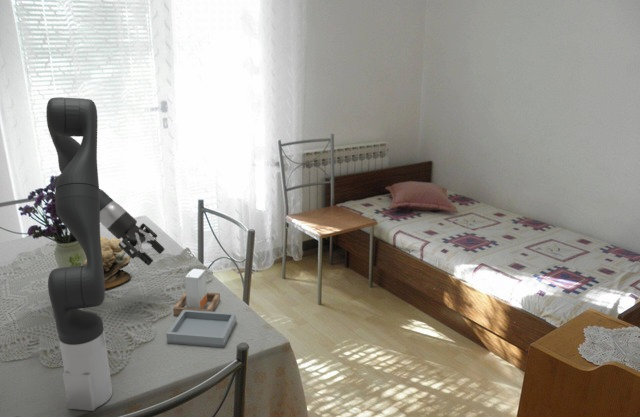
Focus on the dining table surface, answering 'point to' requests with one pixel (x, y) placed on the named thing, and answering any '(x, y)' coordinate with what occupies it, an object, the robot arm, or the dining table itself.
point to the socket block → (181, 303)
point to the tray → (202, 328)
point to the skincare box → (196, 289)
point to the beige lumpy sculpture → (113, 263)
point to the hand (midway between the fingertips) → (156, 257)
